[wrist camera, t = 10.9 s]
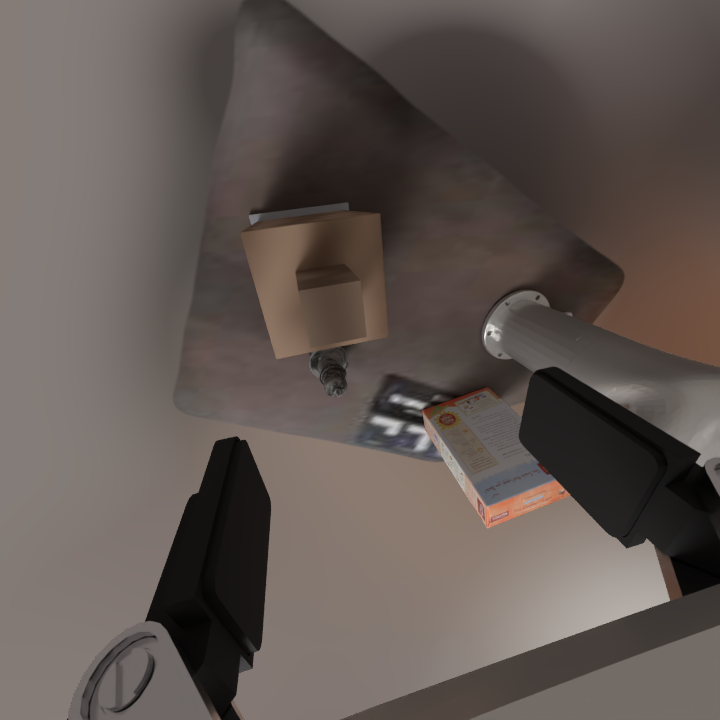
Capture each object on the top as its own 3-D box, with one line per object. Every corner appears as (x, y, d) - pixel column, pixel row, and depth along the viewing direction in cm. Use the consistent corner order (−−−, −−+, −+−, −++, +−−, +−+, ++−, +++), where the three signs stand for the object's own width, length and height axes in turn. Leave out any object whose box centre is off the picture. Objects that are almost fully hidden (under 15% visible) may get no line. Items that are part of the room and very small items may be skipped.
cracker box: (424, 430, 58) (486, 531, 40) (421, 408, 55) (486, 506, 37) (488, 408, 60) (575, 497, 42) (488, 385, 56) (582, 470, 38)
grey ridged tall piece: (350, 358, 47) (369, 401, 36) (318, 374, 47) (327, 422, 37) (335, 328, 44) (350, 366, 33) (300, 345, 44) (305, 388, 34)
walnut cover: (344, 209, 36) (408, 216, 17) (354, 293, 41) (411, 367, 23) (257, 221, 35) (224, 241, 16) (279, 306, 40) (274, 397, 21)
